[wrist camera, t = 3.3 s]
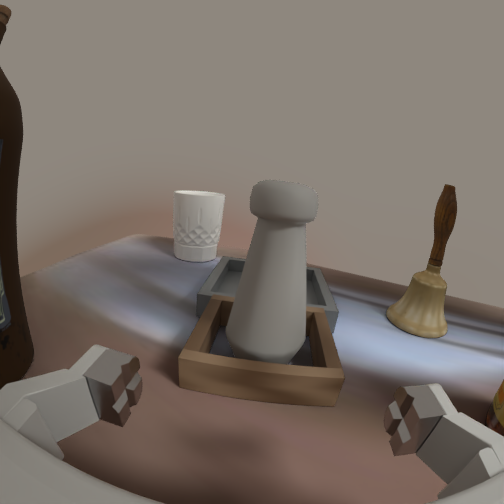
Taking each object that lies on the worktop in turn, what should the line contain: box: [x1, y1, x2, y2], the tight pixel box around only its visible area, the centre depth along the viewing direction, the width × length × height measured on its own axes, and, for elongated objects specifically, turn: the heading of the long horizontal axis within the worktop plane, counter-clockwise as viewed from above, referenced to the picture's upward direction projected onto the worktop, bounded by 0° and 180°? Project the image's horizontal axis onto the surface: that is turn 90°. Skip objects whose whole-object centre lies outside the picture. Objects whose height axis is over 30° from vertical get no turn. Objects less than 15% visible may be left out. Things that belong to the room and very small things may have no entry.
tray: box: [196, 256, 339, 333], centre depth 32 cm, size 13×13×2 cm
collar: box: [178, 294, 345, 406], centre depth 21 cm, size 10×10×2 cm
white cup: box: [173, 191, 225, 262], centre depth 43 cm, size 8×8×10 cm
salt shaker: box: [226, 180, 318, 364], centre depth 19 cm, size 6×6×13 cm
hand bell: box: [386, 184, 457, 338], centre depth 26 cm, size 8×8×16 cm
